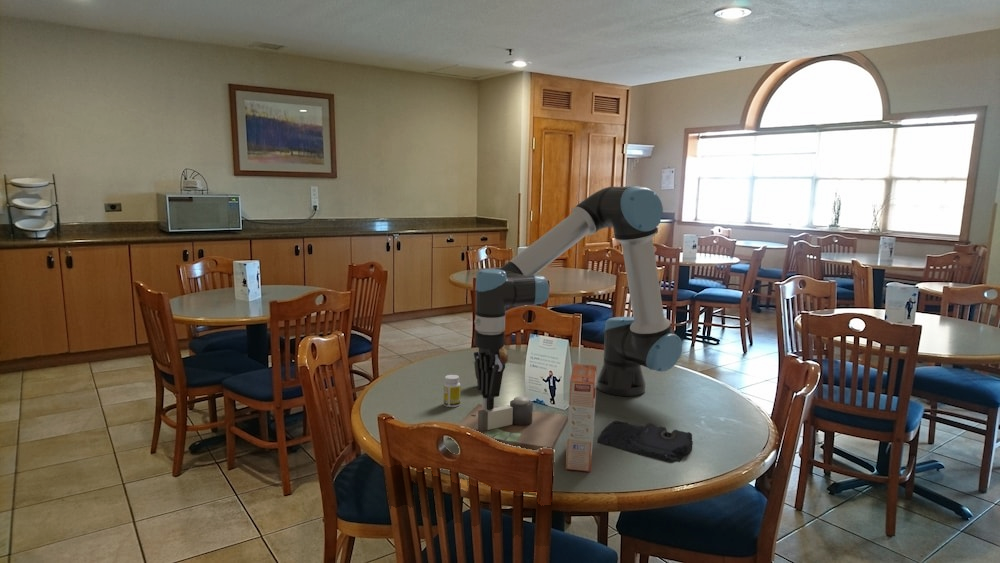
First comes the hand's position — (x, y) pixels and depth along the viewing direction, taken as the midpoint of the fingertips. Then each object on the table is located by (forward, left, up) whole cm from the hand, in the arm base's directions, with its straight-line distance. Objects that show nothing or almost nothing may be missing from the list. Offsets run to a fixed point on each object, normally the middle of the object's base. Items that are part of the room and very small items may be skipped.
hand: (487, 419), depth 155 cm
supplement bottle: (+16, -15, -3) cm, 22 cm away
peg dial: (-4, -2, -1) cm, 5 cm away
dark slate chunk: (-39, -6, -4) cm, 40 cm away
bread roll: (+18, -63, -3) cm, 66 cm away
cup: (+12, -34, -3) cm, 36 cm away
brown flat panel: (-5, -3, -3) cm, 7 cm away
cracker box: (-25, +8, -3) cm, 27 cm away
